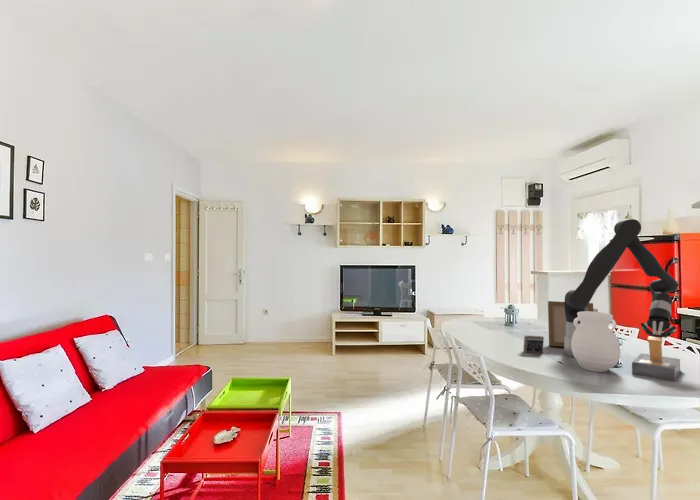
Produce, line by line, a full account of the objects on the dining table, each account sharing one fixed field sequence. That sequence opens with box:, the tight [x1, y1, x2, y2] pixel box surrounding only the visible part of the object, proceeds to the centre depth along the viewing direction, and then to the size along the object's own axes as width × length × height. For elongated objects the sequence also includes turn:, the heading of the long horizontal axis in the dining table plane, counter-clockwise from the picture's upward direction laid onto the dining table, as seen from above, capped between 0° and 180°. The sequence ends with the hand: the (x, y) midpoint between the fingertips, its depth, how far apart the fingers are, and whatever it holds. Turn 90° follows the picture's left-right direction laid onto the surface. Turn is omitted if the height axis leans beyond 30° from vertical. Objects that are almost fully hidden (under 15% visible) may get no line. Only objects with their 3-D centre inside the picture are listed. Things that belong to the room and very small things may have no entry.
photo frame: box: [547, 300, 594, 348], centre depth 214 cm, size 15×22×25 cm
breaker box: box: [631, 352, 681, 382], centre depth 167 cm, size 14×22×5 cm, turn 134°
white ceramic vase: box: [571, 311, 621, 373], centre depth 170 cm, size 19×18×25 cm
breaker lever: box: [647, 335, 663, 362], centre depth 165 cm, size 5×3×11 cm, turn 44°
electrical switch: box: [523, 334, 545, 355], centre depth 198 cm, size 9×5×9 cm, turn 78°
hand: (656, 343), depth 166 cm, fingers closed
